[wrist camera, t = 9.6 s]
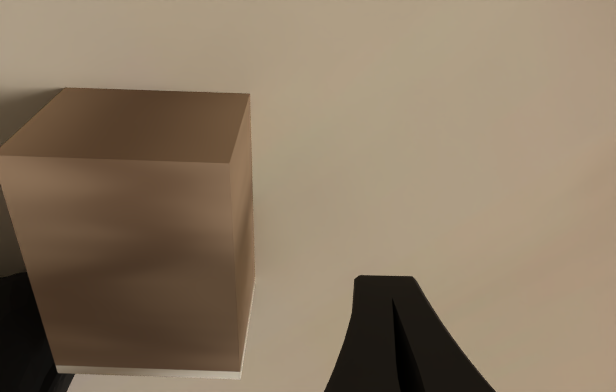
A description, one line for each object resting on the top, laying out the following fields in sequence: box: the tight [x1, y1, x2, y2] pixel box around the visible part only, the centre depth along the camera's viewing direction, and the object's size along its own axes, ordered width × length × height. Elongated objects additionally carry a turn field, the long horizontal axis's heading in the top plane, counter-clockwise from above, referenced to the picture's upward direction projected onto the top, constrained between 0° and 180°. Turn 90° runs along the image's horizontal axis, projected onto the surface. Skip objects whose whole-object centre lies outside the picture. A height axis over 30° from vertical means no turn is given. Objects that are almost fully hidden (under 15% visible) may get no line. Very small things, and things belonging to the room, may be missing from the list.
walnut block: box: [0, 88, 255, 379], centre depth 15 cm, size 5×4×7 cm
